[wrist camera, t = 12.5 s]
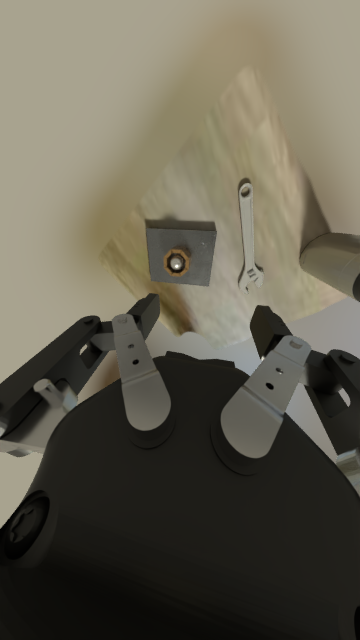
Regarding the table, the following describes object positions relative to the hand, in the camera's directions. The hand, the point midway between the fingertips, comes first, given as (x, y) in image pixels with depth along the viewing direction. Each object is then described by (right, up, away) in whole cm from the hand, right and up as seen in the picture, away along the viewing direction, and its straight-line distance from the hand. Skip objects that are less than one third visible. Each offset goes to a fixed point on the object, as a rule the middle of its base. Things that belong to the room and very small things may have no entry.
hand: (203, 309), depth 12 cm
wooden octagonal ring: (-2, +16, +28) cm, 32 cm away
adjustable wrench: (+16, +18, +25) cm, 35 cm away
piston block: (-2, +17, +30) cm, 34 cm away
